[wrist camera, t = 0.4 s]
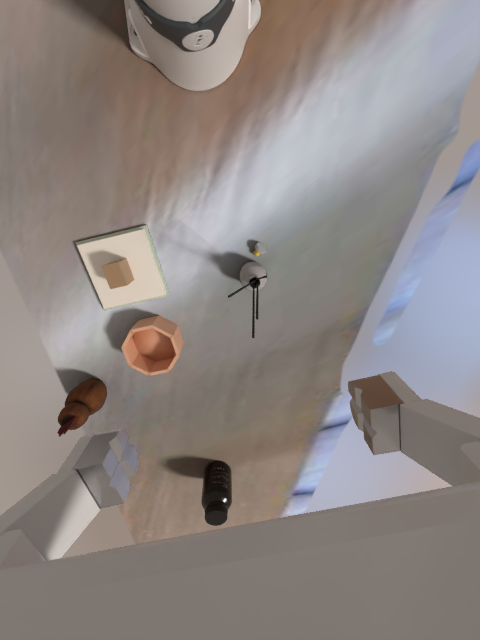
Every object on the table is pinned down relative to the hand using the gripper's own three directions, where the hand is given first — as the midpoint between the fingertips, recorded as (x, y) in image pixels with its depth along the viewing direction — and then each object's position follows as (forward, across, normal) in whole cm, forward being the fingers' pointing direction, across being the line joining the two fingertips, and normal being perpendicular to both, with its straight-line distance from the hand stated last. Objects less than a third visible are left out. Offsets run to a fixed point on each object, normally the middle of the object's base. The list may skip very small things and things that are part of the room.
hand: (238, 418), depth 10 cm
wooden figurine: (+45, +36, +22) cm, 62 cm away
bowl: (+45, +19, +14) cm, 51 cm away
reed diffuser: (+45, -2, +4) cm, 46 cm away
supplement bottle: (+45, +16, +52) cm, 71 cm away
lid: (+44, +20, -1) cm, 49 cm away
